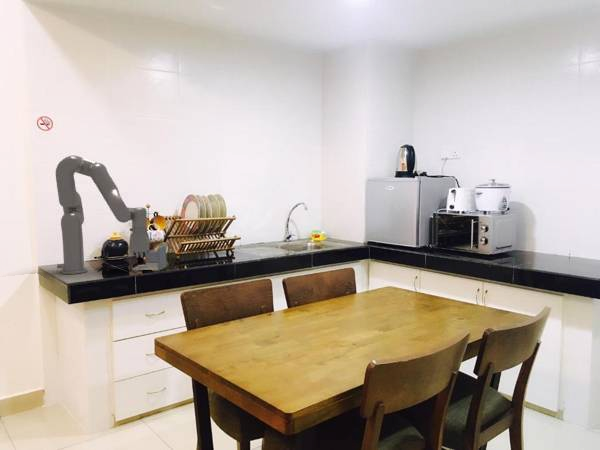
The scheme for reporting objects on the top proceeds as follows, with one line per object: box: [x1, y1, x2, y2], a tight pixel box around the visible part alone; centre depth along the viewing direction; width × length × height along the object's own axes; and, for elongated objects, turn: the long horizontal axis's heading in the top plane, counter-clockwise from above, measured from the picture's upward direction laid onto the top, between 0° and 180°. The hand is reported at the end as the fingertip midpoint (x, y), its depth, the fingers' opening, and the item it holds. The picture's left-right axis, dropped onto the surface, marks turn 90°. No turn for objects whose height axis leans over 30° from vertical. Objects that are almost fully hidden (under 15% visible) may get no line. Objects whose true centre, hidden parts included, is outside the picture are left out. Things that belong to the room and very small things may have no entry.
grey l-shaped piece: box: [131, 244, 168, 272], centre depth 266 cm, size 15×11×12 cm
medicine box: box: [144, 249, 158, 267], centre depth 266 cm, size 8×4×9 cm, turn 89°
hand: (140, 264), depth 267 cm, fingers closed
